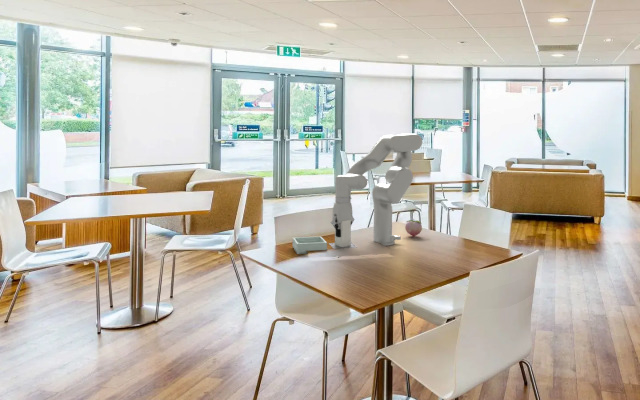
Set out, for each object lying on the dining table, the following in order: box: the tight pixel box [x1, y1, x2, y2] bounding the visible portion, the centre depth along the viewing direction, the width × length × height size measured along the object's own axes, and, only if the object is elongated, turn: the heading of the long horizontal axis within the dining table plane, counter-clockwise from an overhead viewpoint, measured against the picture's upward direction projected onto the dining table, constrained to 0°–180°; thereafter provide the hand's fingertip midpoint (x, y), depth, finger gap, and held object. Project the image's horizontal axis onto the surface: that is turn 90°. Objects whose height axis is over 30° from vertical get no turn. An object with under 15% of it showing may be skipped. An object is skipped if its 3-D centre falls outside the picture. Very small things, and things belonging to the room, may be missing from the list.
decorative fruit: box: [404, 219, 423, 237], centre depth 280 cm, size 9×8×10 cm
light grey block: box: [334, 220, 352, 247], centre depth 251 cm, size 6×6×13 cm
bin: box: [292, 235, 328, 255], centre depth 248 cm, size 15×15×5 cm
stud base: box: [328, 241, 358, 250], centre depth 252 cm, size 12×12×5 cm
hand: (342, 235), depth 251 cm, fingers closed on light grey block, 5 cm apart
